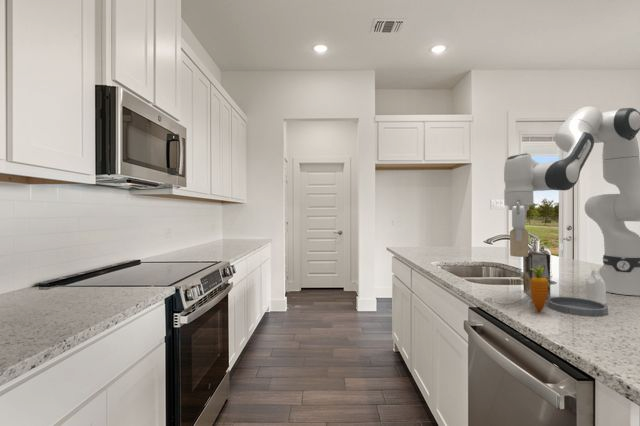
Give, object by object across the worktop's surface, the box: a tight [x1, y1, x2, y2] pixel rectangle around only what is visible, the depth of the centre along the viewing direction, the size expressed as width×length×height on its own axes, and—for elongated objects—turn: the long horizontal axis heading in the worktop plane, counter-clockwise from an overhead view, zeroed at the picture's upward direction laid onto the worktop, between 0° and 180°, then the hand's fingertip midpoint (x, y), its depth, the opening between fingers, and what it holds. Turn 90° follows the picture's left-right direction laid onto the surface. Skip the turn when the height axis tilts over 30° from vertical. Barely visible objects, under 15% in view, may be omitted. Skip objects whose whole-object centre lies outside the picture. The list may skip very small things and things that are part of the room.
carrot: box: [530, 265, 548, 313], centre depth 110 cm, size 5×5×15 cm
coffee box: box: [522, 251, 551, 299], centre depth 133 cm, size 9×6×16 cm
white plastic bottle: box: [585, 268, 607, 305], centre depth 121 cm, size 6×12×6 cm
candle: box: [509, 228, 529, 258], centre depth 121 cm, size 6×6×10 cm
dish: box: [546, 296, 609, 318], centre depth 114 cm, size 16×16×2 cm
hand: (519, 239), depth 120 cm, fingers closed on candle, 5 cm apart
